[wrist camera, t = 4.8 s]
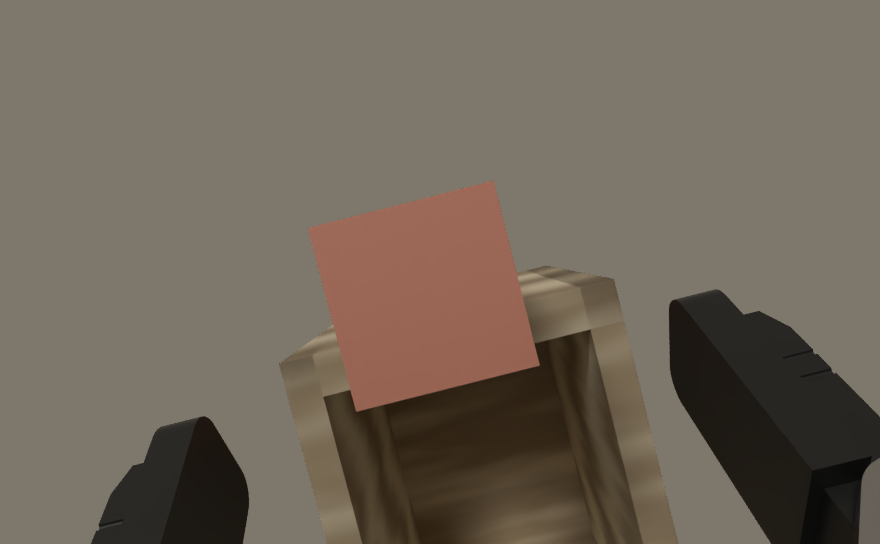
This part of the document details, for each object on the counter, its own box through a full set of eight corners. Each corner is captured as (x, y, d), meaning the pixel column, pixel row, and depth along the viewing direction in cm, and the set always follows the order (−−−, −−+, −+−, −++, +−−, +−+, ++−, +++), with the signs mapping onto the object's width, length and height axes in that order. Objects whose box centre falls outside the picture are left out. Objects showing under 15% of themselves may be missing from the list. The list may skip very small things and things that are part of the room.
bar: (539, 365, 11) (493, 180, 11) (356, 411, 11) (307, 227, 11) (472, 282, 37) (457, 225, 37) (416, 296, 37) (401, 240, 37)
